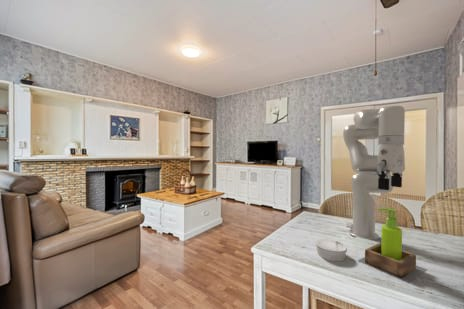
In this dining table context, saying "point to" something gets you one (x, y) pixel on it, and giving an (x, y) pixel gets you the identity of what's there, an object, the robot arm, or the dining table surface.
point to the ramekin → (331, 249)
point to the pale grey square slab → (407, 278)
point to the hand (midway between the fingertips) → (390, 188)
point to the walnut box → (390, 261)
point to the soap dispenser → (391, 236)
